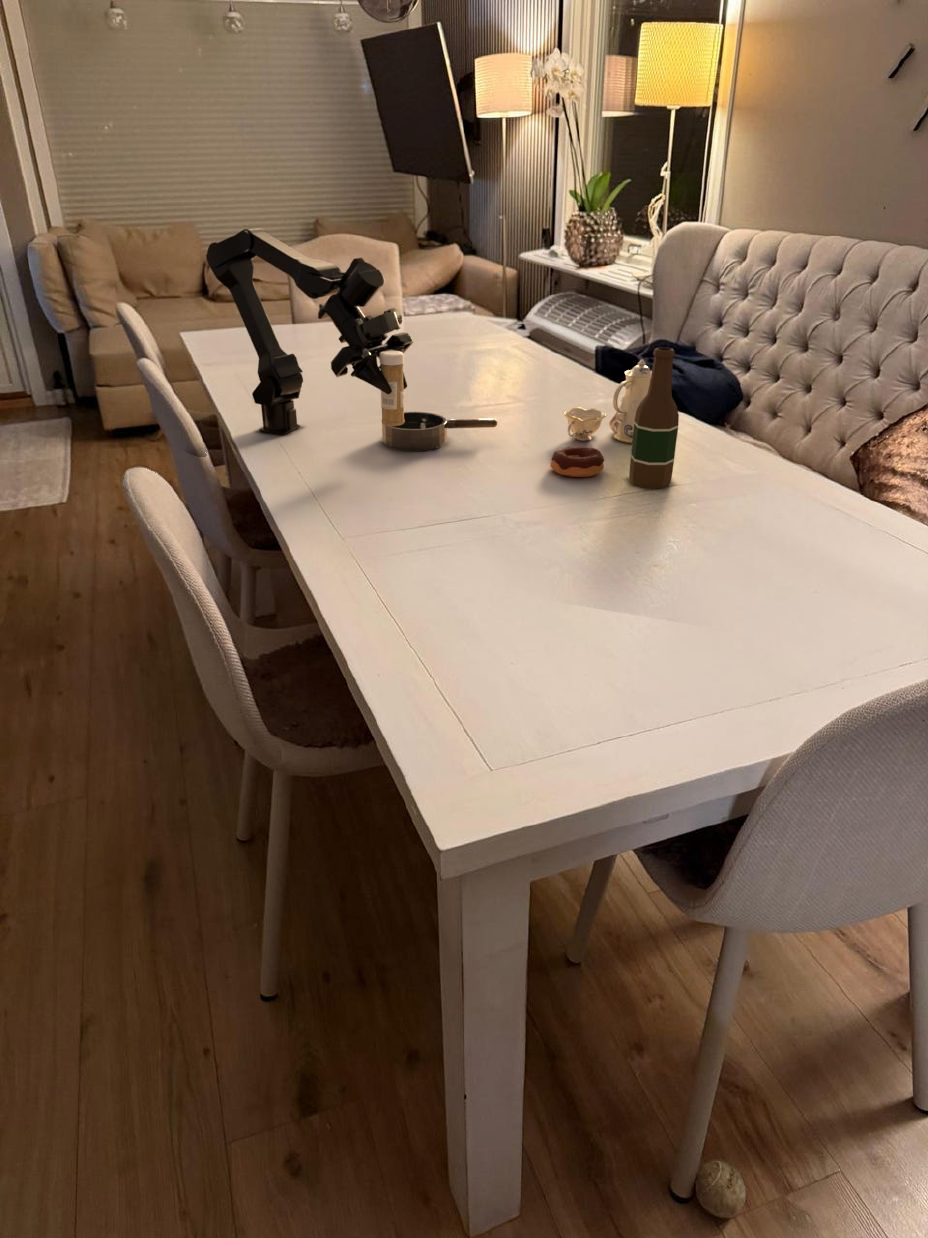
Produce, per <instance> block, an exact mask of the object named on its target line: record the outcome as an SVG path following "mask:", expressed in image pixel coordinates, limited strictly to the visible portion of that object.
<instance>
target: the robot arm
mask: <svg viewBox="0 0 928 1238" xmlns="http://www.w3.org/2000/svg"><path fill="white" fill-rule="evenodd" d="M205 258H206V262H207V264H208V266H209V268H210V270H211V271H212V273H213V275H214V276H215V278H216V280H218V282H220V283H221V284H222V285H223V286H224V287H226V288H227V290H229V292H230V294H231V297H232V299H233V301H234V304H235V306H236V308H237V310H238V313H239V315H240V318H241V320H242V323H243V324H244V326H245V329H246V331H247V334H248V336H249V338H250V340H251V343H252V345H253V349H254V350H255V352H256V354H257V357H258V362H257V377H258V379H259V383H258V384H257V386H256V387H255V389H254V390H253V391H252V393H251V395H252V399H253V401H254V404H255V405H260V408H261V419H262V427H259V428H258V431H259V432H261V433H262V432H263V433H270V434H276V435H283V436H284V435H287V434H289V433H291V432H293V431H295V430H297V429H299V428H301V425H300V424H298V417H297V408H296V407H295V401H294V400H297V399H299V398H300V393H301V389H302V386H303V383H304V377H303V374H302V373H303V372H304V371H303V369H302V368H301V366H300V365H299V362H298V359H297V356H296V355H295V354H294V353H289V354H288V353H287V352H285V351H284V350H283V349H282V347H281V345H280V342H279V340H278V338H277V336H276V333H275V331H274V328H273V326H272V324H271V322H270V319H269V317H268V315H267V312H266V310H265V308H264V305H263V302H262V300H261V298H260V296H259V293H258V291H257V289H256V286H255V284H254V281H253V279H254V271H255V270H254V268H255V266H254V262H253V260H254V259H256V258H260V259H261V260H263V262H266V263H268V264H269V265H271V266H272V267H275V268H276V269H277V270H279V271H281V272H282V273H284V274H285V275H287V276H289V277H290V278H291V279H292V280H293V282H294V285H295V286H296V288H297V289H298V290H300V291H301V292H302V293H303V294H304V295H305V296H306V297H308V298H309V299H312V300H317V299H322V298H326V297H327V298H328V299H327V300H326V301H325V302H324V303H319V305H318V312H317V319H318V320H324V319H328V318H329V319H330V321H331V322H332V324H333V326H335V328H336V330H337V331H338V332H339V334H340V336H339V337H338V341H339V342H340V343H341V344H343V343H346V344H347V346H343V347H341V349H340V350H339V351H338V352H337V354H336V355H335V356H334V358H333V359H332V360H331V361H330V370H331V372H332V373H333V375H335V377H336V378H340V377H343V376H346V375H347V374H348V373H349V368H348V366H350V365H351V366H352V367H351V368H352V369H353V370H352V372H351V373H350V376H351V377H352V378H354V377H355V378H357V379H359V380H361V381H363V382H365V383H366V384H368V385H371V386H373V388H376V389H377V390H379V391H380V392H381V391H383V392H385V393H386V394H390V393H391V392H392V389H391V387H390V385H389V383H388V382H387V380H386V378H385V377H384V375H383V374H382V372H381V366H380V365H378V359H379V354H380V353H381V352H383V351H400V352H402V353H403V354H405V353H406V352H407V350H409V348H410V347H411V346H412V345H413V343H414V339H413V338H412V337H411V336H410V334H409V333H408V332H399V333H394V334H391V336H390V337H389V335H388V334H389V333H391V332H394V331H399V330H400V329H401V325H402V323H403V316H402V315H401V313H400V312H399V311H398V310H397V309H396V308H395V307H392V308H389V309H387V310H384V311H383V313H382V314H379V315H377V316H375V317H373V316H372V315H368V316H366V315H365V314H364V313H363V311H362V309H361V308H364V307H366V306H368V304H369V303H370V302H371V301H372V300H373V298H374V297H375V296H376V295H377V294H378V292H379V290H381V288H382V287H383V285H384V284H385V278H384V275H383V274H382V272H381V270H379V269H378V268H376V267H375V266H374V265H373V264H371V263H369V262H366V261H365V259H364V258H363V257H355V258H353V259H352V261H351V262H350V264H349V266H348V268H347V269H346V271H342V270H341V269H340V267H338V266H337V265H336V264H335V263H332V262H329V261H326V260H322V259H318V258H312V257H309V256H306V255H304V254H302V253H301V252H299V251H298V250H296V249H294V248H293V247H291V246H289V245H287V244H286V243H285V242H282V241H281V240H279V239H277V238H275V237H274V236H272V235H271V234H269V233H268V232H267V231H266V230H265V229H264V228H261V227H249V228H243V229H242V230H241V231H239V232H237V233H236V234H234V235H232V236H229V237H227V238H224V239H223V240H221V241H213V242H211V243H210V244H209V246H208V247H207V251H206V255H205ZM388 337H389V338H388ZM387 338H388V339H387ZM386 339H387V340H386ZM384 341H385V343H384V344H383V342H384ZM403 385H404V390H406V389H407V388H408V383H407V379H406V376H405V373H404V371H403Z"/></svg>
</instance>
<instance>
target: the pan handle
mask: <svg viewBox="0 0 928 1238" xmlns="http://www.w3.org/2000/svg"><path fill="white" fill-rule="evenodd" d="M446 421H447V429H481V428H482V429H483V428H484V429H485V428H486V429H487V428H489V429H490V428H496V427H497V426H498V420H497V419H496V418H460V419H459V418H457V419H455V418H453V419H452V418H451V419H446Z"/></svg>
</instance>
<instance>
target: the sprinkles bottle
mask: <svg viewBox="0 0 928 1238" xmlns="http://www.w3.org/2000/svg"><path fill="white" fill-rule="evenodd" d="M404 354H405V353H404ZM404 354H403V353H402V352H400V351H383V352H381V353H380V354H379V358H378V360H379V364H380V365H379V366H381V369H380V370H381V372H382V374H383V375H384V377H385V378H386V380H387V382H388V383H389V385H390V387H391V389H392V392H391V393H390V394H386V393H385V392H383V391H381V390H380V405H381V406H380V407H381V424H382V423H383V424H384V425H387V426H399V425H402V424H404V422H405V420H404V412H405V389H404V385H403V372H404V363H405V355H404Z"/></svg>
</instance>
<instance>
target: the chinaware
mask: <svg viewBox="0 0 928 1238" xmlns="http://www.w3.org/2000/svg"><path fill="white" fill-rule="evenodd" d="M624 374H625V380H624V381H621V382H620V383H619V384H618V386H617V387H616V389H615V391H614V394H613V399H612V406H613V409H614V410H615V413H614V415H613V416H612V417H611V419H610V420H609V424H608V426H609V428H610V430H611V431H612V432H613V433H614V435H613V438H614V439H615V440H616V441H619V442H621V443H626V444H632V440H633V430H634V421H635V415H636V411H637V408H638V406H639V404H640V402H641V401H642V400H643V399H644V397H645V396H646V395H647V393H648V389H649V386H650V380H651V374H652V370H650V367H649V366H647V365H646V362H645V360H644V359H643V358H641V359H640V360H639V362H637V365H635V366H633V367H632V368H631V369H630V370H629V369H628V370H626V371H624ZM623 387H624V388H625V390H624V395H623V396H622V397H621V400H620V406H618V401H619V399H618V398H619V394H620V393H621V391H622V389H623ZM562 414H563V415H564V416H565V417H566V422H567V425H568V427H567V435H568V436H569V437H573V438H574V440H577V441H578V440H579V441H582V442H584V441H591V440H592V435H594V434H595V433H596V432H597V431H598V430H599V429H600V428H601V424H602V421H603V420H604V418H607V413H606V412H602V411H601V410H600V409H598V408H589V409H584V408H583V407H577V406H576V407H574V408H571V409H570V410H569V411H567V410H564V411H563V412H562ZM571 432H572V433H571Z"/></svg>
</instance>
